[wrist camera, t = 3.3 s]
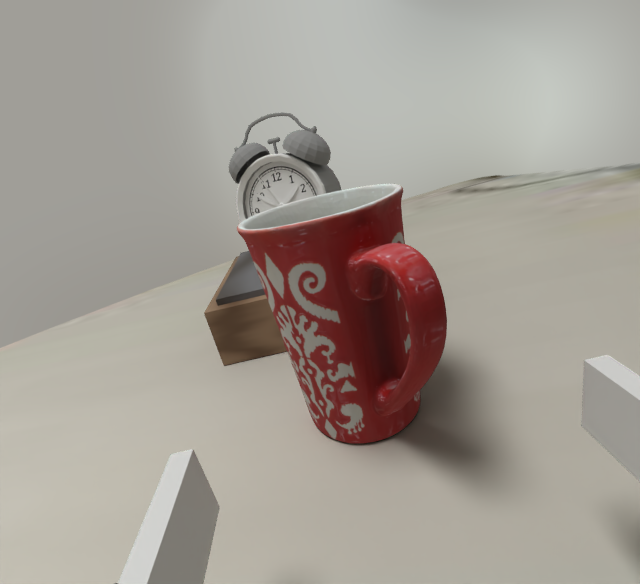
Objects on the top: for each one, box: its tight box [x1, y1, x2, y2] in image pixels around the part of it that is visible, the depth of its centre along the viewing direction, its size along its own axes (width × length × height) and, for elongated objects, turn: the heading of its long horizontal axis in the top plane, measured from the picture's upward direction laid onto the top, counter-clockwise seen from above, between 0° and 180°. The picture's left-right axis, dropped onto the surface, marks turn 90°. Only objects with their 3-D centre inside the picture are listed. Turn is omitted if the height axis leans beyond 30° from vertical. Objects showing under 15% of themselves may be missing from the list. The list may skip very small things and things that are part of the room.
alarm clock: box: [229, 113, 341, 223], centre depth 58 cm, size 16×9×22 cm, turn 69°
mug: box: [237, 184, 447, 443], centre depth 21 cm, size 13×9×14 cm
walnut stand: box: [204, 251, 287, 366], centre depth 41 cm, size 18×18×6 cm
